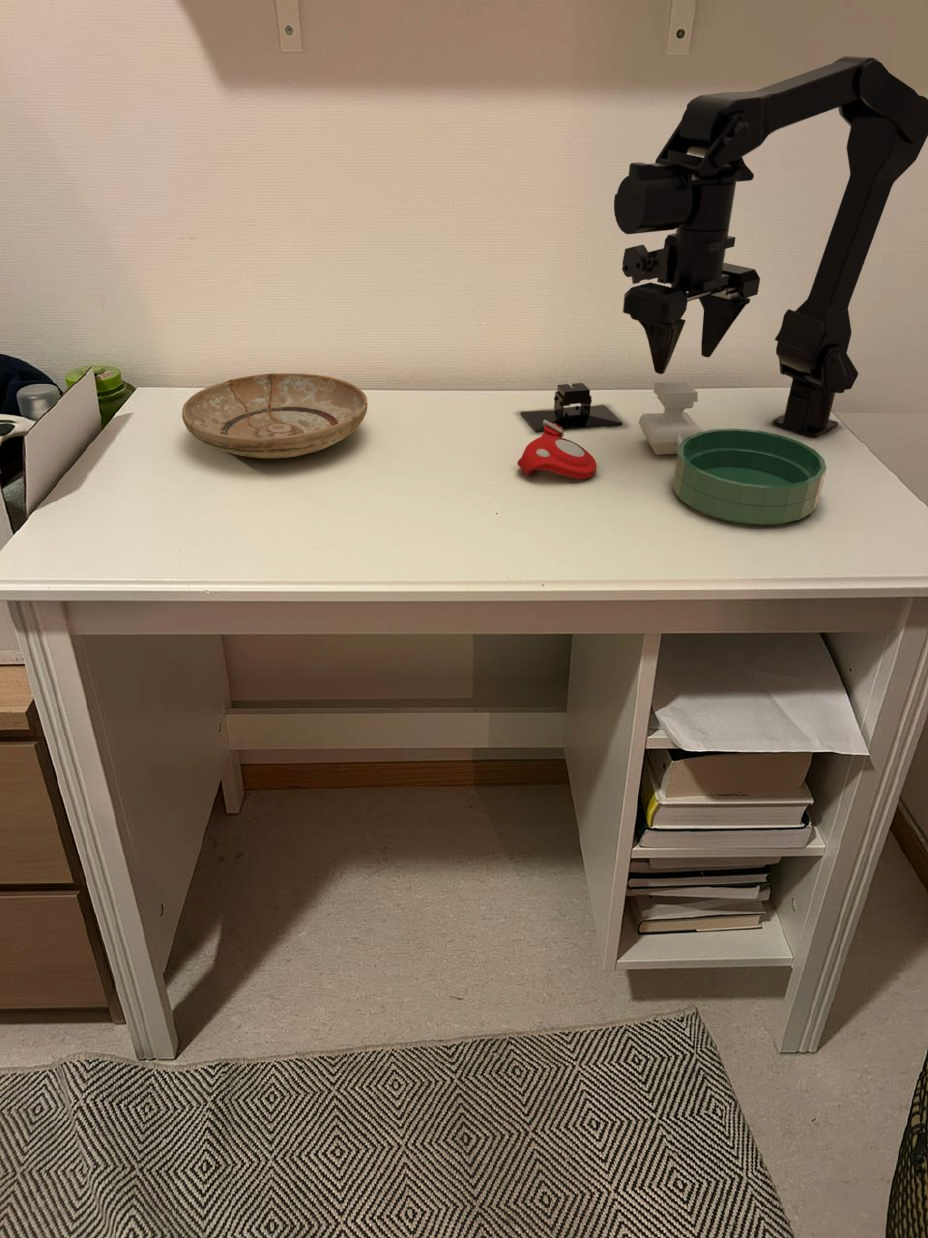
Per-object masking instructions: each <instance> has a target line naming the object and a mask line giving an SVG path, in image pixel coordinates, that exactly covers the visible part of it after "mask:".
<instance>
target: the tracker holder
mask: <svg viewBox="0 0 928 1238" xmlns="http://www.w3.org/2000/svg"><path fill="white" fill-rule="evenodd" d="M543 424H544V427H545V428H544V431H545V432H542V435H541V436H539V437H537V438H535V439H534V440H531V442H529V443H528V444H527V445H526V447H525V448H524V450H523V453H522V455H521V457H520V458H519V459H518V461H517V465H518V467H519V468H520V469H521V470H522V471H523V472H524V473H525V475H527V476H529V475H531V474H532V473H533V472H534V471H551V472H553V473H555V474H558V475H561V476H564V477H569V478H573V479H579V480H586V479H589V478H592V477H593V476H594V474H595V472H596V471H597V467H598V465H597V461H596V459H595V458H594V456H593V455H592V454H591V453H590V452H589V451H588V450H587V449H585V448H584V447H582V446H581V445H579V443H576V442H575V441H572V440H570V439H566V438H564V436H565V435H564V431H563V430H562V429H563V428H562V427H560V426H558V425H557V424H553V423H550V422H548V421H546V420H544V421H543Z"/></svg>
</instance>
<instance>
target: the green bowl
mask: <svg viewBox="0 0 928 1238" xmlns="http://www.w3.org/2000/svg"><path fill="white" fill-rule="evenodd" d="M826 472H827V464H826V460H825V458H824V457H823V456H822V455H821V454H820V453H818V451H816V450H815V449H814V448H812V447H810V446H808V445H807V444H806V443H805V444H804V443H803V442H801V441H799V440H796V439H793V438H790V437H787V436H785V435H782V434H779V433H772V432H768V431H763V430H758V429H745V428H715V429H709V430H702V432H699V433H696V434H694V435H691V436H689V437H687V438H685V439H684V440H683V441H682V442H681V443H680V444H679V446H678V453H677V454H676V460H675V467H674V472H673V473H674V474H673V480H672V489H673V491H674V492H675V494H676V496H677V497H678V498H679V499H680V500H681V502H683V503H685V504H687V505H688V506H689V507H690V508H692V509H693V510H694V511H696V512H699V513H701V514H702V515H705V516H708V517H710V518H713V519H716V520H719V521H722V522H728V523H731V524H736V525H737V524H738V525H744V526H757V527H758V526H759V527H761V526H763V527H764V526H777V525H783V524H787V523H788V524H789V523H791V522H794V521H799V520H802V519H803V518H805V517H807V516H808V515H810V514H812V513H814V511H815V509H816V507H817V505H818V504H819V499H820V496H821V492H822V488H823V485H824V484H823V483H824V480H825V476H826Z"/></svg>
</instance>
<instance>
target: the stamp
mask: <svg viewBox="0 0 928 1238" xmlns="http://www.w3.org/2000/svg"><path fill="white" fill-rule="evenodd" d="M653 385H654V387H653V393H654V394H655V395H656V398H657V399H658V401H659V402H660V404H661V405H663V406H662V407H664V410H663V412H656V413H655V412H654V413H653V412H651V413H642V415H641V416H640V418H639V419H638V424H639V427H640V429H641V431H642V433H643V435H644V436H645V439H646V441H647V442H648V444H649V446H650V447H651V449H652V451H653V452H654V453H655V454H656V455H677V453H678V446H679V444H680V443H681V442H682V441H683V440H684V439H685V438H687V437H689V436H691V435H694V434H696V433H699V432H703V430H702V429H701V428H700V426H699V425H698V424H697V423H696V422H695V421H694V420H693V418H692V417H691V415H689V413H688V412H685V409H688V410H689V409H692V408H693V407H694V405H695V403H698V402H699V395H698V394H699V393H698V391H697V390H696V389H695V388H694V387H692V385H690V384H689V383H688V382H687V381H666V382H665V381H664V382H654V383H653Z"/></svg>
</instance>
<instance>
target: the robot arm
mask: <svg viewBox="0 0 928 1238" xmlns="http://www.w3.org/2000/svg"><path fill="white" fill-rule="evenodd" d="M837 108H838V114H839V116H840V117H841V118H842V119H843V120H844V121H845V122H846V123H847V125H848V126H849V127H850V128H849V133H848V138H847V143H846V155H847V161H848V169H849V178H848V181H847V183H846V186H845V190H844V192H843V195H842V198H841V201H840V203H839V206H838V210H837V213H836V214H835V215H836V216H835V218H834V222H833V225H832V227H831V230H830V233H829V236H828V239H827V242H826V245H825V247H824V250H823V254H822V256H821V260H820V262H819V265H818V268H817V271H816V274H815V276H814V280H813V283H812V285H811V289H810V291H809V294H808V297H807V299H805V300H804V302H802V304H800V305H799V306H798V307H797V308H796V309H795V310H793V309H790V308H789V309H787V310H786V311H785V313H784V314H783V318H782V322H781V325H780V329H779V331H778V333H777V335H776V336H775V338H774V341H776V342H777V344H776V347H775V355H776V356H777V358H778V362H779V373H780V374H781V375H783V376H787V377H789V378H791V379H792V380H791V384H790V389H789V393H788V397H787V401H786V407H785V410H784V414H783V415H780V416H778V417H775V418H774V419H772V424H773V425H775V426H779V427H780V428H785V429H787V430H790V431H793V432H796V433H799V434H802V435H805V436H808V437H811V438H816V437H818V436H820V435H822V434H824V433H826V432H828V431H831V430H832V429H835V428H837V427H838V426H839V422H838V421H837V420H833V419H830V416H831V413H832V408H833V405H834V400H835V395H836V394H844V393H845V391H846V390H847V391H848V390H851V389H852V388H853V386H854V384H855V383H856V380H857V378H858V376H859V371H858V370H857V368H856V367H855V364H853V362H852V360H851V358H850V357H849V355H848V354H847V353H848V349H849V346H850V341H851V338H852V326H851V319H850V313H849V306H850V303H851V300H852V297H853V295H854V291H855V289H856V286H857V284H858V281H859V278H860V276H861V272H862V270H863V267H864V265H865V261H866V259H867V256H868V253H869V251H870V248H871V245H872V242H873V239H874V238H875V234H876V232H877V229H878V226H879V223H880V221H881V218H882V216H883V212H884V210H885V207H886V204H887V202H888V199H889V196H890V193H891V191H892V188H893V185H894V184H895V182H896V181H897V180H898V179H899V178H900V177H901V176H902V175H903V174H904V173H905V172H906V171H907V170H908V169H909V168H910V167H911V166H912V165H913V164H914V163H915V162H916V160H917V159H918V157H919V155H920V153H921V151H922V149H923V147H924V145H925V143H926V140H927V139H928V97H926V96H924V95H919V93H918V92H917V91H916V90H915V89H914V88H913V87H911V86H909V85H908V84H907V83H905V82H903V81H902V80H900V79H899V78H898V77H896V76H895V75H893V74H892V73H890V72H889V70H888V68H886V67H885V65H884V64H883V63H882V62H881V61H879V60H878V59H877V58H875V57H870V56H857V55H845V56H843V57H841V58H838V59H837V60H835V61H834V62H832V63H829V64H827V65H823V66H821V67H818V68H815V69H811V70H809V71H807V72H803V73H801V74H799V75H796V76H793V77H790V78H787V79H785V80H781V81H778V82H775V83H773V84H770V85H768V86H765V87H762V88H760V89H756V90H749V91H727V92H725V91H724V92H716V93H707V94H701V95H698V96H696V97H694V98H692V99H691V100H690V101H689V102H688V103H687V104H686V109H685V111H684V112H683V114H682V117H681V120H680V122H679V123H678V125H677V126H676V127H675V129H674V131H673V132H672V134H671V135H670V137H669V138H668V140H667V142H666V143H665V144H664V145H663V148H662V149H661V151H660V153H659V154H658V155H657V157H656V159H655V161H654V163H645V162H642V161H641V162H639V161H638V162H631V163H629V168H628V175H627V176H625V177H624V178H623V179H622V180H621V182H620V183H619V186H618V188H617V192H616V194H614V198H613V211H614V218H615V222H616V224H617V226H618V228H619V229H620V231H621V232H622V233H624V234H625V235H635V234H646V233H656V232H666V231H673V230H675V232H674V233H670V234H667V235H666V237H665V239H664V244H663V248H659V249H655V250H651V251H649V250H648V249H647V247H646V246H645V244H639V245H635V246H631V247H627V248H625V249H624V252H623V257H622V262H621V263H622V267H621V271H622V272H623V274H624V276H625V277H626V278H631V282H632V283H631V284H632V285H635V284H639V285H636V286H631V287H630V288H628V289H627V291H626V292H625V293H624V295H623V305H622V313H623V314H625V315H626V314H627V315H629V317H630V318H631V319H632V320H634V321H637V322H638V323H639V324H640V325H641V326H642V327H643V330H644V333H645V335H646V338H647V342H648V346H649V351H650V355H651V360H652V364H653V370H654V372H655V373H656V374H659V375H663V374H665V372H666V370H667V368H668V366H669V364H670V362H671V359H672V356H673V354H674V352H675V348H676V347H677V344H678V341H679V339H680V336H681V334H682V332H683V328H684V326H685V324H686V322H687V321H686V319H683V316H684V314H685V313H686V311H687V308H688V303H689V302H691V301H695V300H699V302H700V305H701V307H702V309H703V314H702V315H703V317H702V327H701V328H702V329H701V330H702V331H701V342H700V343H701V344H700V346H701V347H700V349H701V350H700V352H701V356H702V357H705V358H710V357H711V356H712V355H713V353H714V352H715V350H716V349H717V347H718V346H719V344H720V343H721V341H722V340H723V338H724V336H725V335H726V333H727V332H728V331H729V329H730V328H731V327H732V325H733V323H734V322H735V321H736V320H737V318H738V317H739V315H740V314H741V313H742V311H743V310H744V308H745V307H746V306H747V305H749V304H750V302H751V297H755V296H757V295H758V293H759V288H760V282H761V278H760V276H759V274H758V272H757V270H756V268H750V267H746V266H741V265H737V264H732V263H729V262H728V263H727V262H725V258H726V250H727V249H731V248H735V243H736V238H737V237H736V236H731V235H729V233H730V225H731V219H732V212H733V205H734V200H735V193H736V187H737V183H738V182H739V183H741V182H749V181H753V179H754V178H755V174H754V173H753V172H752V170H751V169H750V168H749V167H748V166H747V164H746V163H745V161H744V156H746V155H748V154H749V153H751V152H753V151H754V150H757V148H759V147H761V146H762V145H763V144H764V142H765V141H766V140H767V138H768V136H770V135H771V134H773V133H775V132H776V131H778V130H780V129H784V128H786V127H788V126H791V125H794V124H797V123H800V122H802V121H805V120H809V119H810V118H813V117H816V116H819V115H821V114H823V113H827V112H829V111H832V110H835V109H837ZM654 279H656V283H655V282H646V283H642V284H640V283H641V281H651V280H654ZM667 284H668V285H670V286H667Z"/></svg>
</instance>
